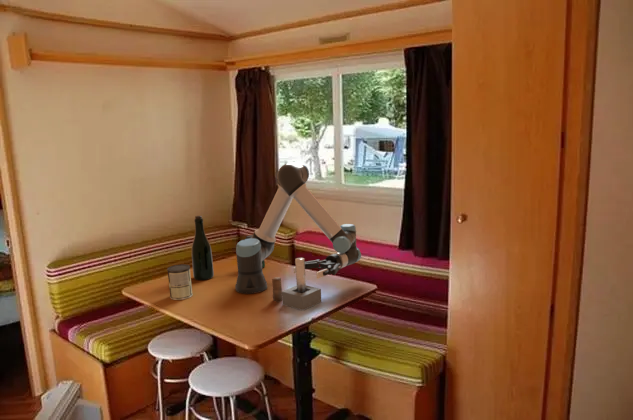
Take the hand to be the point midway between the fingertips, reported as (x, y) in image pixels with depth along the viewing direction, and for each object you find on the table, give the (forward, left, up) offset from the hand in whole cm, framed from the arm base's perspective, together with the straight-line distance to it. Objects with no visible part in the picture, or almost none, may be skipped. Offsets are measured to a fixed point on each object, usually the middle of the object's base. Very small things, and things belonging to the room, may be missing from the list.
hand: (305, 272), depth 217 cm
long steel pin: (0, -3, -13) cm, 13 cm away
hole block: (0, -3, -13) cm, 13 cm away
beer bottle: (-69, -4, -13) cm, 71 cm away
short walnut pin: (-12, -6, -13) cm, 19 cm away
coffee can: (-54, -28, -13) cm, 63 cm away
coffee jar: (-59, +24, -13) cm, 66 cm away
